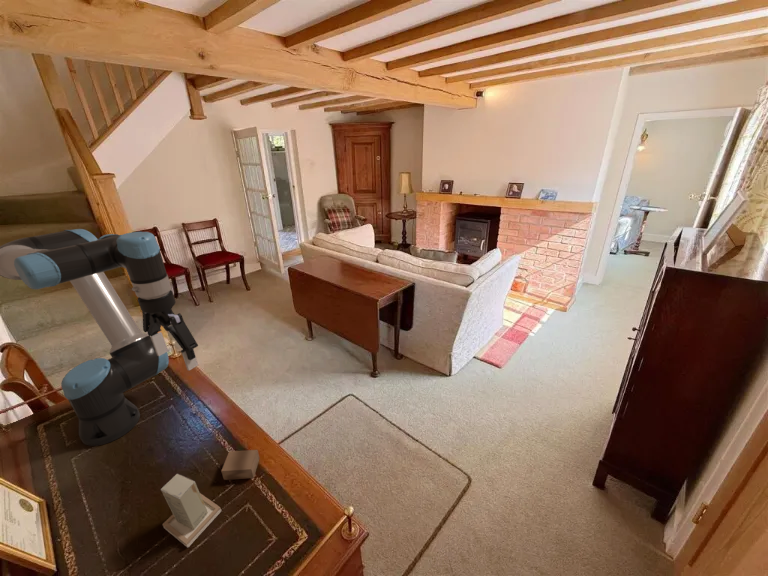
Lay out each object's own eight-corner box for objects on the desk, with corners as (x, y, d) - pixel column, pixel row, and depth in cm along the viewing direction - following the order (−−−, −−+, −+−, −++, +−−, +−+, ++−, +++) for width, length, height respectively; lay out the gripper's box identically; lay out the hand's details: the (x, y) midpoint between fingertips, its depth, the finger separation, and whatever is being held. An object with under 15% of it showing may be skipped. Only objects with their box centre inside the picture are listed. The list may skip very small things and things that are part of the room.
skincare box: (208, 512, 79) (197, 481, 74) (194, 530, 75) (180, 499, 70) (189, 503, 81) (177, 472, 76) (174, 520, 77) (159, 489, 72)
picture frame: (164, 528, 77) (162, 524, 76) (198, 494, 84) (196, 490, 83) (187, 547, 73) (186, 544, 72) (221, 511, 80) (220, 507, 80)
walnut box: (224, 480, 88) (221, 471, 86) (231, 460, 93) (229, 451, 91) (253, 478, 88) (251, 469, 87) (259, 458, 94) (257, 449, 92)
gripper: (111, 289, 82) (137, 354, 91) (170, 311, 72) (193, 382, 81) (142, 278, 88) (164, 341, 98) (200, 298, 78) (218, 365, 88)
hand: (177, 360), depth 90 cm, fingers open, 13 cm apart
